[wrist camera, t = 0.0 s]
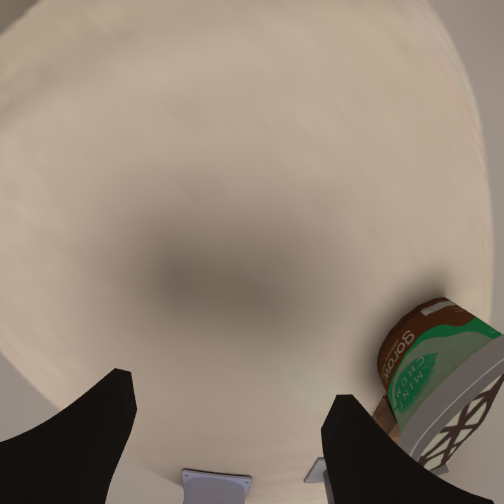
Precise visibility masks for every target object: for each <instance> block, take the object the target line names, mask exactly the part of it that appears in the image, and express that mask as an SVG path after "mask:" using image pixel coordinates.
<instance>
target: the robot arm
mask: <svg viewBox="0 0 504 504" xmlns="http://www.w3.org/2000/svg"><path fill="white" fill-rule="evenodd" d="M136 412H137V406H136V400H135V394H134V388H133V382H132V375H131V372H129V371H125V370H121V369H117V368H115V369H113V370H112V371H111V372H110V373H108V374H107V375H106V376H105V377H104V378H103V379H101V380H100V381H99V382H98V383H97V384H96V385H94V386H93V387H92V388H91V389H90V390H88V391H87V392H86V393H85V394H83V395H82V396H81V397H79V398H78V399H77V400H76V401H74V402H73V403H72V404H70V405H69V406H68V407H66V408H65V409H63V410H62V411H61V412H59V413H58V414H56V415H55V416H53V417H52V418H50V419H49V420H47V421H45V422H44V423H42V424H40V425H38V426H36V427H35V428H33V429H31V430H29V431H27V432H24V433H22V434H20V435H18V436H15V437H13V438H11V439H8V440H5V441H2V442H0V504H105V501H106V496H107V492H108V489H109V485H110V482H111V479H112V476H113V474H114V472H115V469H116V467H117V464H118V462H119V459H120V457H121V455H122V452H123V450H124V447H125V445H126V443H127V440H128V438H129V435H130V433H131V430H132V426H133V423H134V419H135V415H136ZM321 437H322V447H323V454H324V459H325V463H326V468H327V472H328V476H329V480H330V484H331V489H332V493H333V497H334V502H335V504H494V502H493V501H492V500H490V499H486V498H483V497H480V496H477V495H474V494H471V493H469V492H466V491H464V490H461V489H460V488H457V487H455V486H453V485H451V484H450V483H448V482H446V481H444V480H442V479H441V478H439V477H438V476H436V475H434V474H433V473H431V472H430V471H428V470H427V469H426V468H424V467H423V466H422V465H420V464H419V463H418V462H417V461H415V460H414V459H413V458H412V457H410V456H409V455H408V454H407V453H406V452H405V451H404V450H403V449H402V448H401V447H399V446H398V445H397V444H396V443H395V442H394V441H393V440H392V439H391V438H390V437H389V436H388V435H387V433H386V432H385V431H384V430H383V429H382V428H381V427H380V426H379V425H378V424H377V422H376V421H375V420H374V419H373V418H372V417H371V416H370V414H369V413H368V412H367V411H366V410H365V409H364V407H363V406H362V405H361V404H360V403H359V402H358V400H357V399H356V398H355V397H354V396H353V395H352V394H350V395H336V398H335V400H334V402H333V404H332V407H331V409H330V411H329V413H328V415H327V417H326V420H325V422H324V424H323V426H322V428H321ZM182 478H183V487H184V495H185V496H184V502H183V504H245V498H246V495H247V493H248V490H249V487H250V484H251V481H252V478H251V477H244V476H231V475H221V474H212V473H205V472H198V471H191V470H183V471H182Z"/></svg>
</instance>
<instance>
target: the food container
mask: <svg viewBox="0 0 504 504" xmlns="http://www.w3.org/2000/svg"><path fill="white" fill-rule="evenodd" d="M377 366H378V372H379V375H380V377H381V380H382V382H383V385H384V387H385V390H386V393H387V395H388V398H389V401H390V404H391V406H392V409H393V412H394V415H395V417H396V420H397V423H398V426H399V429H400V432H401V435H400V437H399V440H398V443H397V445H398V446H399V447H401V448H402V449H403V450H404V451H405V452H406V453H407V454H408V455H409V456H410V457H412V458H413V459H414V460H415V461H417V462H418V463H419V464H420V465H422V466H423V467H424V468H426V469H427V470H428V471H430V472H431V473H433V474H434V475H436V476H439V475H442V474H445V473H448V472H449V471H448V468H447V466H446V462H447V461H448V460H449V459H450V457H451V456H452V455H453V453H454V452H455V451H456V450H457V449H458V447H459V446H460V445H461V443H462V442H463V441H464V440H466V439H467V438H468V437H469V436H470V435H471V434H472V433H473V432H474V431H475V430H476V429H477V428H478V427H479V426H480V424H481V423H482V422H483V420H484V419H485V417H486V415H487V413H488V411H489V409H490V407H491V405H492V403H493V401H494V399H495V397H496V395H497V393H498V391H499V389H500V387H501V385H502V383H503V381H504V334H501V333H500V332H498V331H497V330H495V329H494V328H492V327H491V326H489V325H488V324H486V323H485V322H483V321H482V320H480V319H479V318H477V317H476V316H474V315H472V314H471V313H469V312H468V311H466V310H465V309H463V308H461V307H460V306H458V305H457V304H455V303H453V302H452V301H450V300H449V299H447V298H437V299H433V300H431V301H428V302H426V303H424V304H421V305H419V306H417V307H416V308H415V309H413V310H412V311H411V312H409V313H408V314H407V315H405V316H404V317H403V318H402V319H401V320H400V321H399V322H398V323H397V324H396V325H395V327H394V328H393V329H392V330H391V331H390V332H389V334H388V336H387V337H386V339H385V341H384V342H383V344H382V346H381V349H380V351H379V355H378V362H377Z"/></svg>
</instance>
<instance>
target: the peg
mask: <svg viewBox="0 0 504 504" xmlns="http://www.w3.org/2000/svg"><path fill="white" fill-rule="evenodd" d="M323 479H324V484H325V489H326V495H327V500H328V504H335V502H334V497H333V493H332V489H331V484H330V480H329V476H328V472H327V469H326V470H325V471H324V472H323Z"/></svg>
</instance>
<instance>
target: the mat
mask: <svg viewBox="0 0 504 504" xmlns="http://www.w3.org/2000/svg"><path fill="white" fill-rule="evenodd" d="M326 469H327V468H326V463H325V459H324V458H318V459H317V460H316V462H315V464H314V465H313V467H312V469H311V470H310V472H309V473H308V475H307V477H306V478H305V480H304V483H318V482H324V479H323V472H324V471H325V470H326Z"/></svg>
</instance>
